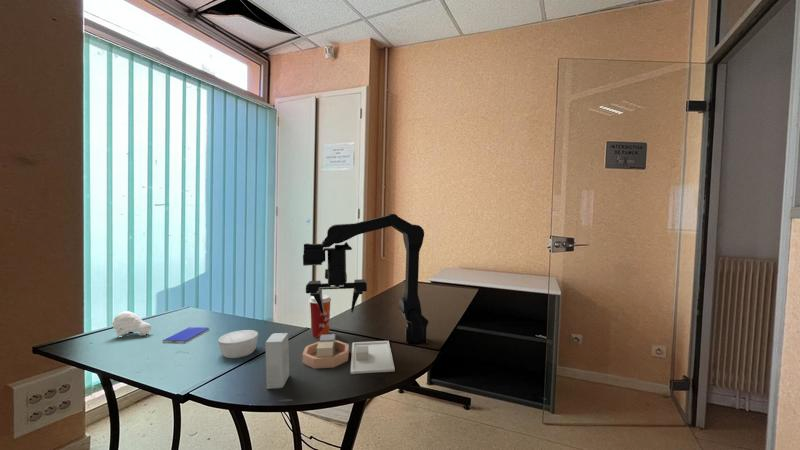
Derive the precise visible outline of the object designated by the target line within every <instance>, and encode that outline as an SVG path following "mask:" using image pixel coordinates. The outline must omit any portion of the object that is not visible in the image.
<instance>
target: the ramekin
mask: <svg viewBox="0 0 800 450" xmlns="http://www.w3.org/2000/svg"><path fill="white" fill-rule="evenodd" d="M258 338H259V332H258V331H256V330H254V329H253V330H252V329H243V330H235V331H231V332H228V333H225V334H223V335H222V336H220V337H219V338H218V341H217V342H218V345H219V348H220V352H221V355H222V356H223V357H224V358H228V359H238V358H243V357H246V356H249V355H251V354H252V353H254V352H255V350H256V348H257V342H258Z"/></svg>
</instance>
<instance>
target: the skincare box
mask: <svg viewBox="0 0 800 450" xmlns="http://www.w3.org/2000/svg"><path fill="white" fill-rule="evenodd" d="M264 345H265V370H266V371H265V373H266V374H265V376H266V377H265V378H266V389H268V390H269V389H271V390H272V389H282V388H284V387H285V384H286V382H287V380H288V379H289V377H290V362H289V361H290V360H289V355H290V354H289V333H288V332H282V333H281V332H280V333H279V332H278V333H276V332H275V333H271V335H270V336H269V337H268V339H266V341H265V343H264Z"/></svg>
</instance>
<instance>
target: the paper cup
mask: <svg viewBox="0 0 800 450" xmlns="http://www.w3.org/2000/svg"><path fill="white" fill-rule="evenodd" d="M322 299H323V307H324V313H323V314H322V313H321V310H320V308H319V305H318V303H317V301H316V300H315V298H314V296H310V298H309V301H308V302H309V305H310V306H309V308H310V319H311V332H312V337H314V338H320V336H321V335H327V334H330V318H331V317H330V316H331V313H330V312H331V301H332V298H331V296H330V295H329V294H322Z"/></svg>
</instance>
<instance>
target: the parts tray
mask: <svg viewBox="0 0 800 450" xmlns="http://www.w3.org/2000/svg"><path fill="white" fill-rule="evenodd" d="M356 346H368V357H369V360H361V361H356ZM388 372H389V373H390V372H395V363H394V358H393V354H392V349H391V346H390V341H389V340H378V341H377V340H376V341H373V340H372V341H358V342H357V341H356V342H352V344H351V359H350V375H355V374H356V375H357V374H374V373H375V374H376V373H388Z"/></svg>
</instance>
